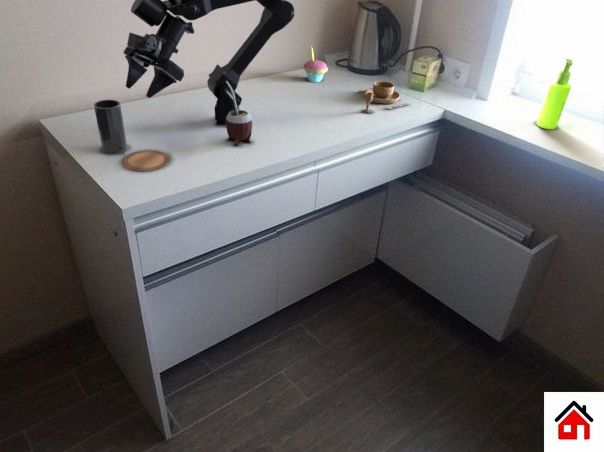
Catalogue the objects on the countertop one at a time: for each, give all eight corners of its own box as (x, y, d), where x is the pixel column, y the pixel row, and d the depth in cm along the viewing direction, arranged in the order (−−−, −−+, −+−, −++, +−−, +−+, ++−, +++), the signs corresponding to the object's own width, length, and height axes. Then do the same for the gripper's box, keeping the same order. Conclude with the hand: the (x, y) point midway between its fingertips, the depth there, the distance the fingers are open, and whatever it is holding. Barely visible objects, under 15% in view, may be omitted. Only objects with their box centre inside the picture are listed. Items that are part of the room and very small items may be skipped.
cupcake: (301, 82, 178) (303, 48, 171) (305, 75, 185) (307, 42, 178) (325, 84, 177) (327, 50, 170) (327, 77, 184) (330, 44, 177)
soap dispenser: (555, 122, 158) (578, 59, 147) (557, 130, 152) (580, 65, 141) (535, 119, 159) (557, 56, 148) (536, 127, 154) (558, 62, 143)
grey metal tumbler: (130, 144, 130) (122, 100, 123) (123, 154, 125) (115, 109, 118) (106, 143, 129) (98, 99, 123) (99, 153, 124) (90, 108, 118)
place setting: (413, 104, 165) (416, 87, 162) (367, 114, 155) (369, 96, 152) (378, 88, 177) (380, 71, 174) (333, 97, 167) (335, 79, 164)
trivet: (173, 151, 127) (173, 151, 127) (163, 172, 118) (163, 171, 118) (129, 150, 127) (129, 149, 127) (117, 170, 118) (117, 169, 118)
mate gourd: (248, 148, 131) (247, 93, 123) (219, 144, 132) (217, 89, 124) (255, 137, 137) (255, 83, 129) (228, 133, 138) (226, 80, 130)
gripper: (122, 12, 123) (92, 66, 123) (166, 26, 113) (133, 85, 113) (154, 38, 133) (126, 89, 133) (198, 53, 123) (167, 108, 123)
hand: (137, 92), depth 125 cm, fingers open, 9 cm apart
